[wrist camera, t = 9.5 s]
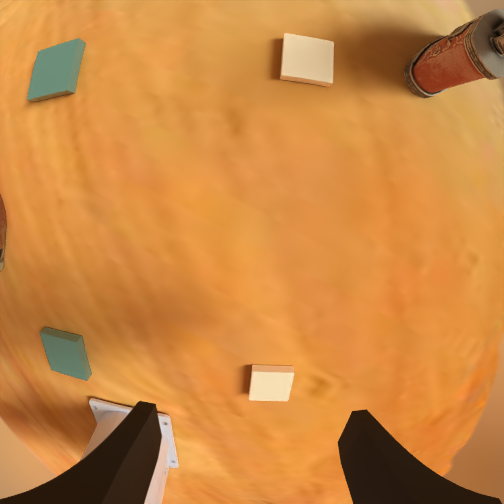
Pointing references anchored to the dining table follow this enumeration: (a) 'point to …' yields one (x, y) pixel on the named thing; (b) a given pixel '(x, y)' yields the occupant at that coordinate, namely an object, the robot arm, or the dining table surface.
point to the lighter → (459, 56)
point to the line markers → (64, 82)
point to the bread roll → (2, 232)
